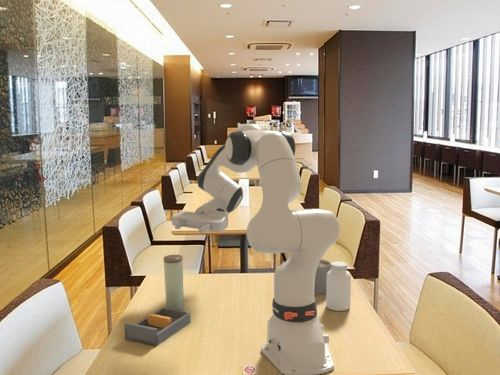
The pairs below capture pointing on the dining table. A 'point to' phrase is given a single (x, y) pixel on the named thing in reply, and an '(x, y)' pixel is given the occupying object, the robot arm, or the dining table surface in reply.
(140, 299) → the dining table surface
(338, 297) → the pill bottle
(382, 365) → the dining table surface
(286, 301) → the robot arm
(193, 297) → the dining table surface
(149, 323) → the block
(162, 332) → the gray open tray
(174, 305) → the jar
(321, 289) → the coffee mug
